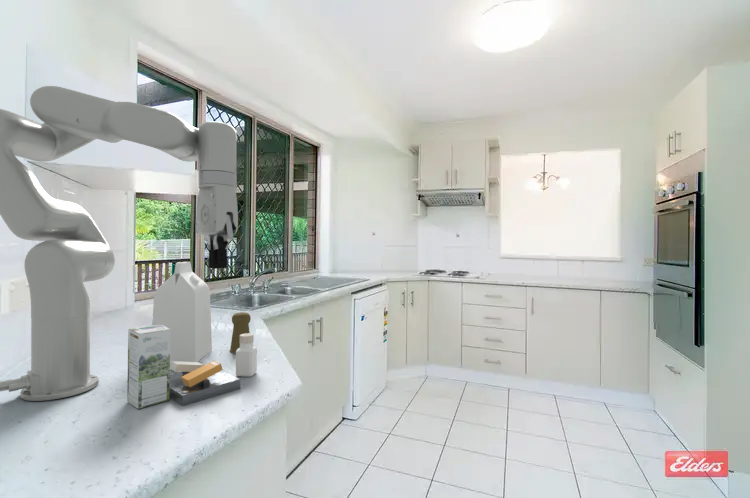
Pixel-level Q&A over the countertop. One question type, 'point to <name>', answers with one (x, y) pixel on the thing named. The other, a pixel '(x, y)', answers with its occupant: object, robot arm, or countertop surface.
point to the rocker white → (185, 366)
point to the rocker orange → (201, 373)
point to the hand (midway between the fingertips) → (218, 267)
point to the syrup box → (148, 365)
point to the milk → (185, 314)
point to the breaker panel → (201, 387)
